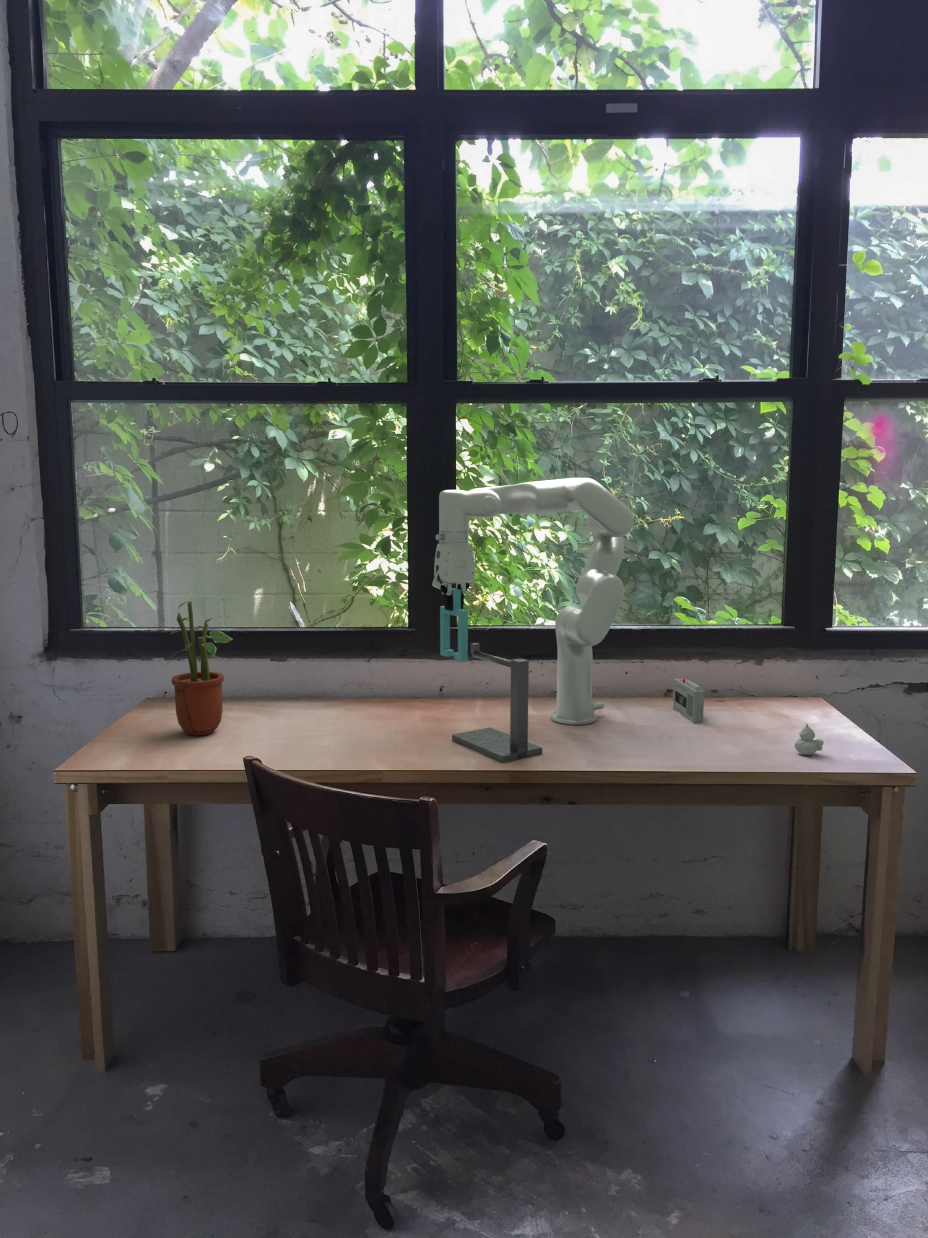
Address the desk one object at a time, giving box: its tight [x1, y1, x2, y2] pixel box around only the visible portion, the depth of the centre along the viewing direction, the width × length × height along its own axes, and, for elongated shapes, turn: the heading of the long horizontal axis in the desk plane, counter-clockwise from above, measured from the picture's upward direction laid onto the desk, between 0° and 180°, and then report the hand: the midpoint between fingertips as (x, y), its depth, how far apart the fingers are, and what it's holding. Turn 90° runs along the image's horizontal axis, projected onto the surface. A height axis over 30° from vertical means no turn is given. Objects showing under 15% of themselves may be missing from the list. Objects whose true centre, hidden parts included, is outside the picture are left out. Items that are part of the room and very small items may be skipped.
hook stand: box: [451, 642, 543, 763], centre depth 222 cm, size 12×22×25 cm, turn 34°
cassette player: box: [672, 678, 705, 724], centre depth 252 cm, size 16×3×10 cm, turn 8°
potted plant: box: [166, 600, 234, 737], centre depth 236 cm, size 17×16×35 cm
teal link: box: [439, 587, 469, 662], centre depth 235 cm, size 10×2×18 cm, turn 34°
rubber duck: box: [794, 722, 825, 756], centre depth 217 cm, size 5×7×8 cm
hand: (453, 608), depth 234 cm, fingers closed on teal link, 2 cm apart
